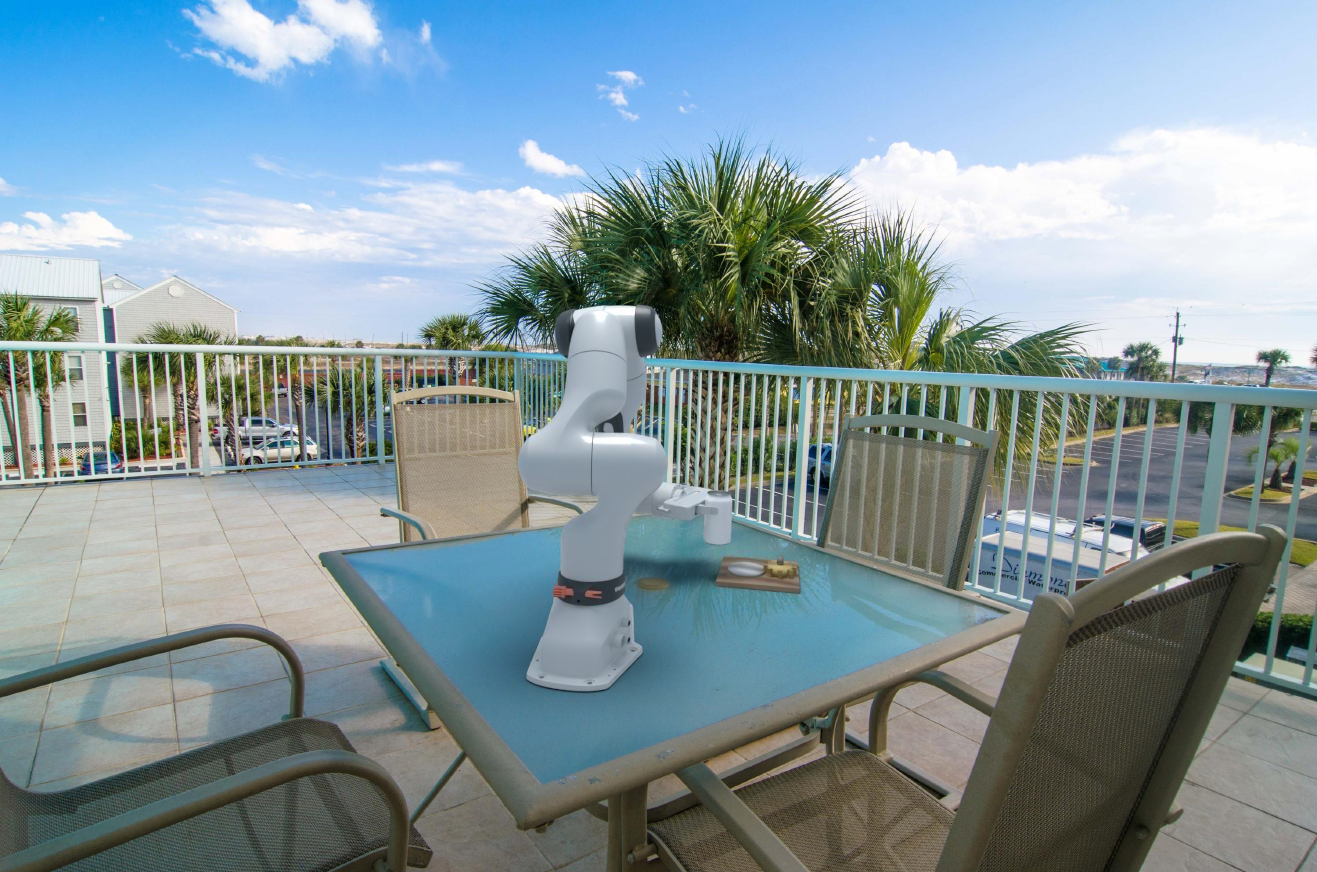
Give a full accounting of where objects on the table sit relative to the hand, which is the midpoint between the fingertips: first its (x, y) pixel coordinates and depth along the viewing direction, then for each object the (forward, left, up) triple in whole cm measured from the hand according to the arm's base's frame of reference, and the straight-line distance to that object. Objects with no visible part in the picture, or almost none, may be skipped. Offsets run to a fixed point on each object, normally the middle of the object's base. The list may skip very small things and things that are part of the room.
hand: (723, 508), depth 153 cm
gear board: (+4, -9, -17) cm, 20 cm away
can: (0, +1, -8) cm, 9 cm away
